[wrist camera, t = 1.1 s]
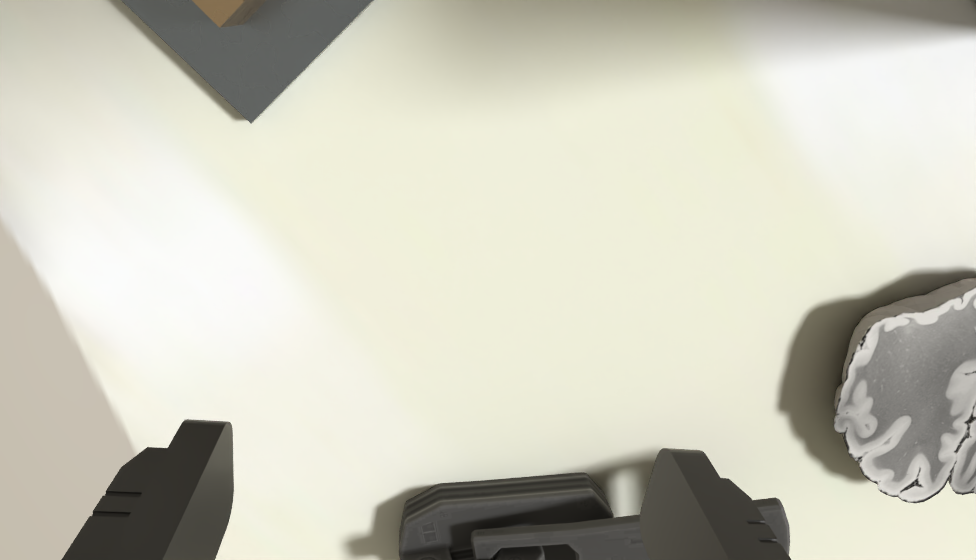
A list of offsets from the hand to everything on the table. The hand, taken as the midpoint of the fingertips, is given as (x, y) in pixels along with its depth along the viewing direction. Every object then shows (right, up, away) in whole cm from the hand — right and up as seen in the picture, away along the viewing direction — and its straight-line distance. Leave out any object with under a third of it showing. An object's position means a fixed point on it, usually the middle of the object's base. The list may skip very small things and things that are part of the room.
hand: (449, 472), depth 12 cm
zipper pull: (+7, -13, +34) cm, 37 cm away
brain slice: (+33, -3, +33) cm, 46 cm away
